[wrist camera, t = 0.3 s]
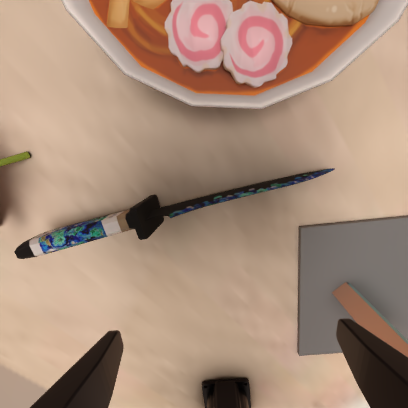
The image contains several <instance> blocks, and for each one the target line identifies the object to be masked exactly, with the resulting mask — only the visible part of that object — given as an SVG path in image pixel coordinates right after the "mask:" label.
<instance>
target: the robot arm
mask: <svg viewBox="0 0 408 408" xmlns="http://www.w3.org/2000/svg"><path fill="white" fill-rule="evenodd" d="M336 338H337V341H338V343H339V345H340V347H341V350H342V352H343V354H344V356H345V358H346V360H347V363H348V365H349V367H350V369H351V371H352V374H353V376H354V378H355V380H356V382H357V384H358V386H359V388H360V390H361V391H362V393H363V395H364V397H365V399H366V400H367V402H368V404H369V406H370V407H371V408H408V357H407V356H405V355H404V354H402V353H401V352H399V351H398V350H396V349H395V348H393V347H392V346H390V345H389V344H387V343H386V342H384V341H383V340H381V339H380V338H378V337H377V336H375V335H374V334H372V333H371V332H369V331H368V330H367V329H365V328H364V327H362V326H361V325H359V324H358V323H356V322H355V321H353V320H352V319H349V318H342V319H339V320H338V323H337V330H336ZM122 353H123V342H122V338H121V334H120V331H118V330H115V331H109V332H107V333H106V334H105V335H104V336H103V337H102V338H101V339H100V340H99V341H98V342H97V343H96V344H95V345H94V346H93V347H92V348H91V349H90V350H89V351H88V352H87V353H86V354H85V355H84V356H83V357H82V358H81V359H79V360H78V361H77V362H76V363H75V364H74V365H73V366H72V367H71V368H70V369H69V370H68V371H67V372H66V373H65V374H64V375H63V376H62V377H61V378H60V379H59V380H58V381H57V382H56V383H55V384H54V385H53V386H52V387H51V388H50V389H48V390H47V392H45V394H43V395H42V396H41V397H40V398H39V399H38V400H37V401H36V402H35V403H34V404H33V405H32V406H31V407H30V408H108V406H109V403H110V400H111V397H112V393H113V390H114V386H115V382H116V378H117V374H118V369H119V365H120V361H121V357H122ZM202 390H203V397H204V403H205V408H251V401H250V387H249V380H248V379H246V378H243V379H228V380H214V381H204V382H202Z"/></svg>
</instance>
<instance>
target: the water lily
mask: <svg viewBox="0 0 408 408" xmlns="http://www.w3.org/2000/svg"><path fill="white" fill-rule="evenodd" d="M28 158H30V155H29V154H28V152H24V153H20V154H17V155H14V156H10V157H7V158H3V159H0V166H4V165H7V164H11V163H14V162H18V161H21V160H25V159H28Z"/></svg>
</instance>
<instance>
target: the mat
mask: <svg viewBox="0 0 408 408" xmlns="http://www.w3.org/2000/svg"><path fill="white" fill-rule="evenodd" d="M345 282H346V283H347V284H349V283H350V284H351V285H352V286H353V287H354V288H355V289H356V290H357V291H358V292H360V293H361V294H362V295H363V296H364V297H365V298H366V299H367V300H368V301H369V302H370V303H371V304H372V305H373V306H374V307H375V308H376V309H377V310H378V311H379V312H380V313H381V314H382V315H383V316H384V317H385V318H386V319H387V320H388V321H389V322H390V323H391V324H392V325H393V326H394V327H395V328H396V329H397V330H398V331H399V332H400V333H401V334H402V335H403V336H404V337H405V338H406V339H407V340H408V216H399V217H389V218H379V219H369V220H359V221H349V222H339V223H328V224H318V225H308V226H299V279H298V354H299V356H304V355H317V354H331V353H343V352H342V350H341V347H340V345H339V343H338V341H337V338H336V330H337V323H338V320H339V319H342V318H349V319H352V320H353V321H355V320H354V319H353V318H352V316H351V315H350V314H349V313H348V312H347V310H346V309H345V308H344V307H343V306H342V304H341V303H340V302H339V301H338V300H337V298H336V297H335V296H334V295H333V294H332V292H333V291H334V290H336V289H337V288H338V287H340V286H341V285H342V284H344V283H345ZM355 322H356V321H355Z"/></svg>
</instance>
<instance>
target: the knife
mask: <svg viewBox="0 0 408 408" xmlns="http://www.w3.org/2000/svg"><path fill="white" fill-rule="evenodd" d="M332 170H334V169H325V170H320V171H314V172H309V173H304V174H299V175H295V176H290V177H285V178H281V179H277V180H272V181H268V182H263V183H259V184H255V185H250V186H246V187H242V188H238V189H233V190H229V191H225V192H221V193H217V194H212V195H208V196H204V197H200V198H196V199H192V200H188V201H185V202H181V203H177V204H174V205H170V206H165V207H161V208H160V205H159V201H158V198H157V196H156V195H151V196H149V197H148V198H146V199H144V200H143V201H141V202H140V203H138V204H137V205H135V206H133V207H132V208H130V210H126V211H122V212H118V213H115V214H111V215H107V216H103V217H99V218H96V219H92V220H88V221H84V222H80V223H77V224H73V225H69V226H65V227H61V228H57V229H54V230H50V231H47V232H44V233H41V234H39V235H37V236H35V237H33V238H31V239H29V240H27V241H26V242H24V243H22V244H21V245H20V246H18V247H17V249H16V250H15V254H16V256H17V258H19V259H25V258H31V257H38V256H41V255H45V254H48V253H52V252H55V251H59V250H62V249H66V248H69V247H73V246H76V245H80V244H83V243H87V242H90V241H93V240H97V239H100V238H104V237H107V236H111V235H114V234H118V233H121V232H125V231H128V230H132V229H135V230H136V232H137V235H138V238H139V239H140V240H142V239H147V238H148V237H149V236H150V235H151V234H152V233H153V232H154V231H155V230H156V229H157V228H158V227H159V226H160V225H161V224H162V223H163V222H164V218H163V216H169V217H170V218H172V217H175V216H178V215H180V214H183V213H186V212H189V211H192V210H196V209H199V208H202V207H205V206H209V205H213V204H217V203H221V202H225V201H229V200H233V199H237V198H241V197H245V196H249V195H253V194H257V193H261V192H265V191H269V190H274V189H278V188H282V187H285V186H289V185H293V184H297V183H300V182H304V181H307V180H310V179H313V178H316V177H319V176H321V175H324V174H326V173H328V172H331V171H332Z"/></svg>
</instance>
